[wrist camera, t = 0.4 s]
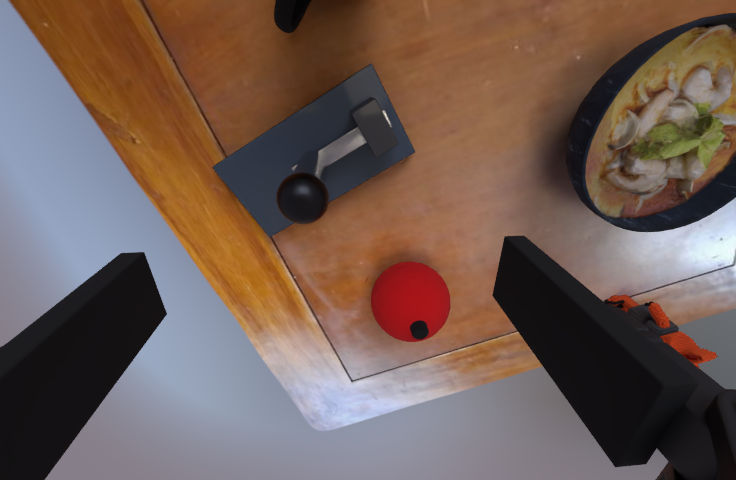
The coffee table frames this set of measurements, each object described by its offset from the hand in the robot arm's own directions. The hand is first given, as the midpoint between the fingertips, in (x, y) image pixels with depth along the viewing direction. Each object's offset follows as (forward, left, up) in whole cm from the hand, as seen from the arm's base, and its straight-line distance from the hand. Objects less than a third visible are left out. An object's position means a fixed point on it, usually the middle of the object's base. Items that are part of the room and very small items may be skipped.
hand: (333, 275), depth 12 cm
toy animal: (-11, +43, -23) cm, 50 cm away
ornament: (+6, +17, -23) cm, 29 cm away
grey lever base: (+2, -1, -23) cm, 23 cm away
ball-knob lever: (-1, -1, -21) cm, 21 cm away
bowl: (-22, +19, -23) cm, 37 cm away
